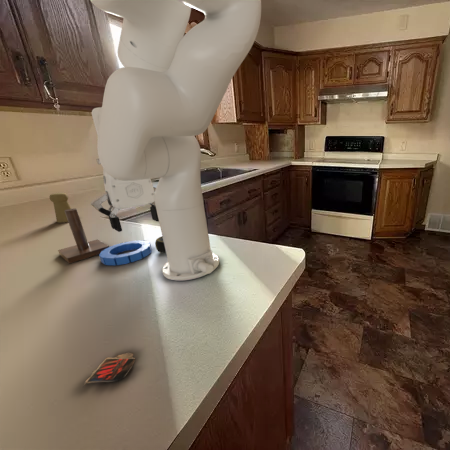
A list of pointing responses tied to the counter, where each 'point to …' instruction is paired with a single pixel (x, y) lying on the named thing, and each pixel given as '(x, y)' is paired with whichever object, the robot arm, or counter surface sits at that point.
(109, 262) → the tape roll
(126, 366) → the matchbox
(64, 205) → the cork
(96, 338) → the counter surface
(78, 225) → the stand
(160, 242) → the tape measure
